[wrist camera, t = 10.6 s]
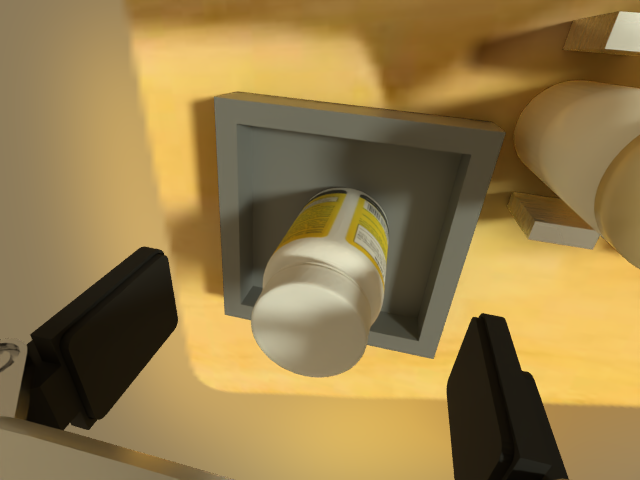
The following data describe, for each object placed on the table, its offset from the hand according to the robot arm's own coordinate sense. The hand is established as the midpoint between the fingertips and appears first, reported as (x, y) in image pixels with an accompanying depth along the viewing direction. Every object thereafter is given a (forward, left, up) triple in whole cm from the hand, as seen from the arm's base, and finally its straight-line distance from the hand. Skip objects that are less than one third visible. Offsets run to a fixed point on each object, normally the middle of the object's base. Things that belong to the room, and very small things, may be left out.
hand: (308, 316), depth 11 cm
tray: (+1, 0, -9) cm, 10 cm away
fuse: (-5, +9, -10) cm, 14 cm away
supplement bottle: (+1, 0, -9) cm, 9 cm away
